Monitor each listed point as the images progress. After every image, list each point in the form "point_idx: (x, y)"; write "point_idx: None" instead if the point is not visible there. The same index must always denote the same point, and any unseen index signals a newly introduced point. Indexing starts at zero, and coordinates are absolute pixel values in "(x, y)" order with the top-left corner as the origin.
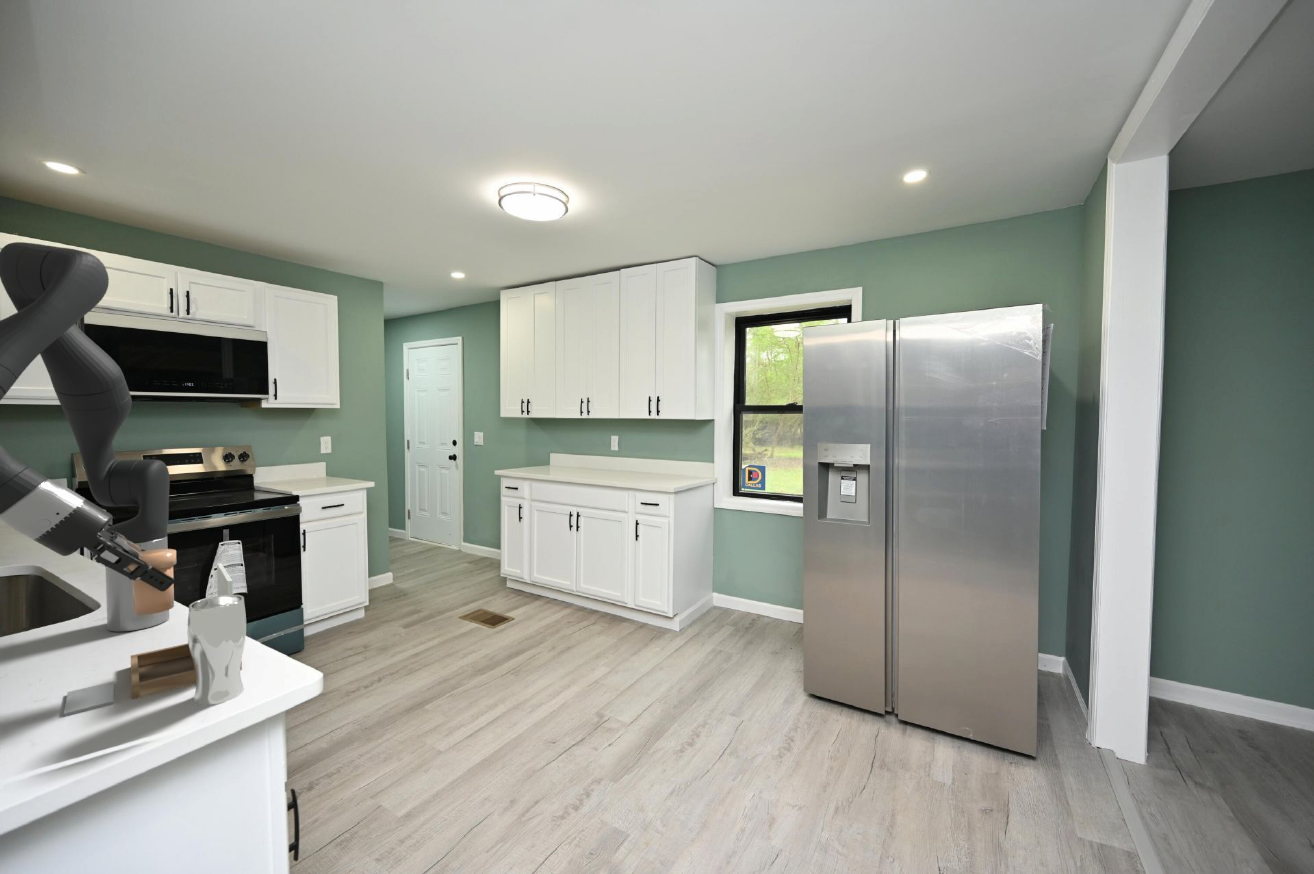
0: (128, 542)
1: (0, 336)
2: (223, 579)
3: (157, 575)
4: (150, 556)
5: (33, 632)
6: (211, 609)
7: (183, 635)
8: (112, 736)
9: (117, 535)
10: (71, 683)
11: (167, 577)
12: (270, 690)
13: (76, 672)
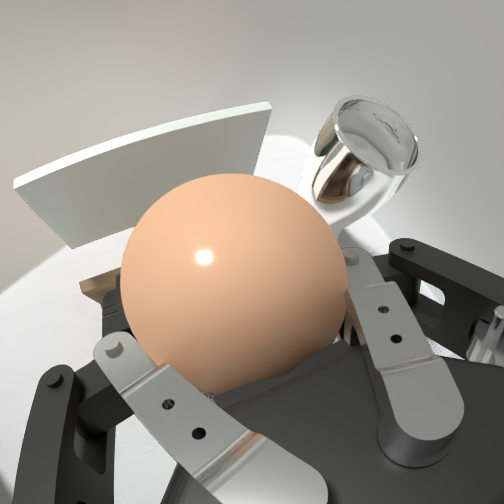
0: (239, 423)
1: None
2: (172, 142)
3: None
4: (320, 259)
5: None
6: (418, 138)
7: (5, 351)
8: None
9: (323, 496)
10: (168, 465)
11: None
12: (302, 170)
13: (120, 473)
